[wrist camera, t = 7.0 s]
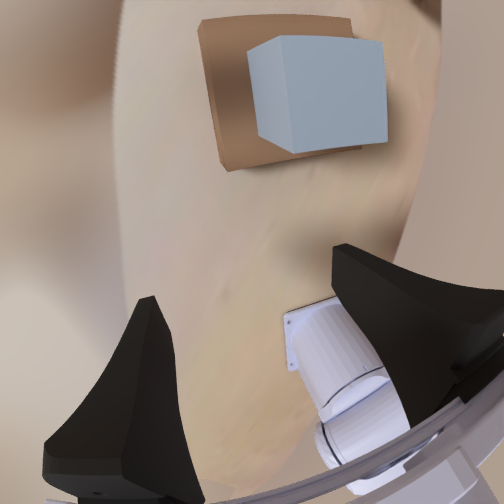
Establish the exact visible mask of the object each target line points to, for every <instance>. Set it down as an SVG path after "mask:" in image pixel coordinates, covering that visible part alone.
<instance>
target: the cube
mask: <svg viewBox="0 0 504 504" xmlns="http://www.w3.org/2000/svg"><path fill="white" fill-rule="evenodd" d="M247 57H248V63H249V70H250V77H251V84H252V91H253V98H254V106H255V113H256V120H257V128H258V135H259V136H260V137H262V138H264V139H266V140H268V141H270V142H272V143H274V144H276V145H278V146H280V147H282V148H283V149H285V150H287V151H289V152H291V153H293V154H295V153H302V152H308V151H315V150H322V149H329V148H337V147H345V146H354V145H363V144H373V143H384V142H388V121H387V93H386V77H385V65H384V54H383V45H382V42H378V41H371V40H364V39H355V38H344V37H331V36H308V35H280V36H277V37H275V38H273V39H271V40H269V41H267V42H265V43H263V44H261V45H259V46H257V47H255V48H253V49H251V50H249V51H247Z"/></svg>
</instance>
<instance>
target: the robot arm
mask: <svg viewBox="0 0 504 504" xmlns="http://www.w3.org/2000/svg"><path fill="white" fill-rule="evenodd" d="M331 286H332V288H333V290H334V292H335V293H336V295H337V296H336V297H333V298H330V299H328V300H325V301H322V302H319V303H316V304H313V305H310V306H307V307H303V308H300V309H297V310H294V311H291V312H288V313H286V314H285V315H284V316H283V320H284V332H285V343H286V355H287V368H288V370H289V371H295V370H298V372H299V374H300V376H301V378H302V380H303V382H304V384H305V386H306V388H307V390H308V392H309V394H310V396H311V398H312V400H313V402H314V405H315V406H316V408H317V409H318V410H319V411H318V414H319V416H320V418H321V420H322V421H320V422H319V423H317V425H316V430H315V434H314V437H315V443H316V446H317V448H318V451H319V453H320V455H321V457H322V459H323V460H324V462H325V464H326V465H327V466H328V468H329V469H330V470H329V471H326V472H324V473H321V474H319V475H316V476H313V477H311V478H308V479H305V480H302V481H299V482H296V483H293V484H290V485H287V486H284V487H281V488H277V489H274V490H270V491H267V492H263V493H259V494H255V495H251V496H247V497H242V498H238V499H233V500H228V501H223V502H217V503H212V504H298V503H301V502H304V501H307V500H310V499H313V498H315V497H318V496H320V495H323V494H326V493H329V492H331V491H333V490H336V489H338V488H340V487H343V486H345V485H346V486H347V488H348V489H349V490H351V491H352V492H353V494H355V495H363V496H361V497H359V498H357V499H355V500H353V501H350V502H348V503H346V504H499V503H498V501H497V499H496V497H495V496H494V494H493V492H492V490H491V489H490V487H489V485H488V484H487V482H486V480H485V479H484V477H483V476H482V474H481V472H480V471H479V469H478V467H479V466H480V465H481V464H482V463H483V461H485V460H486V459H487V458H488V456H489V455H490V454H491V453H492V452H493V451H494V450H495V449H496V448H497V447H498V446H499V444H500V443H501V442H502V441H503V440H504V336H503V333H504V290H494V289H480V288H473V287H466V286H460V285H455V284H451V283H447V282H442V281H439V280H435V279H432V278H429V277H426V276H423V275H420V274H417V273H414V272H412V271H409V270H407V269H404V268H401V267H399V266H397V265H394V264H392V263H390V262H387V261H385V260H383V259H381V258H379V257H376V256H374V255H372V254H370V253H368V252H365V251H363V250H361V249H359V248H357V247H354V246H352V245H349V244H346V243H345V244H341V245H338V246H334V247H333V256H332V285H331ZM43 453H44V454H43V471H42V476H43V479H44V480H45V481H46V482H47V483H49V484H50V485H52V486H54V487H56V488H58V489H60V490H62V491H64V492H66V493H69V494H71V495H74V496H76V497H78V504H204V502H205V498H204V495H203V492H202V490H201V487H200V485H199V482H198V479H197V476H196V473H195V470H194V467H193V463H192V460H191V457H190V453H189V450H188V446H187V442H186V438H185V434H184V430H183V426H182V421H181V417H180V411H179V404H178V394H177V380H176V366H175V353H174V347H173V342H172V336H171V332H170V329H169V327H168V325H167V323H166V321H165V319H164V317H163V314H162V312H161V310H160V308H159V305H158V303H157V301H156V299H155V296H150V297H146V298H142V299H139V301H138V303H137V305H136V307H135V309H134V311H133V314H132V316H131V318H130V320H129V322H128V325H127V327H126V329H125V331H124V333H123V335H122V337H121V340H120V342H119V344H118V346H117V348H116V350H115V351H114V353H113V355H112V357H111V359H110V361H109V363H108V365H107V366H106V368H105V370H104V371H103V373H102V375H101V376H100V378H99V379H98V381H97V382H96V384H95V385H94V387H93V388H92V390H91V391H90V392H89V394H88V395H87V396H86V398H85V399H84V400H83V402H82V403H81V405H80V406H79V407H78V408H77V409H76V410H75V412H74V413H73V414H72V415H71V416H70V417H69V419H68V420H67V421H66V422H65V423H64V424H63V425H62V426H61V427H60V428H59V429H58V430H57V431H56V432H55V433H54V434H53V435H52V436H51V437H50V438H49V439H48V440H47V441H46V442H45V443H44V452H43ZM45 504H75V503H71V502H64V501H57V500H50V499H46V500H45Z"/></svg>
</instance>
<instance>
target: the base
mask: <svg viewBox="0 0 504 504" xmlns="http://www.w3.org/2000/svg"><path fill="white" fill-rule="evenodd" d="M280 35H308V36H331V37H344V38H353V33H352V27H351V20H350V19H349V18H340V17H330V16H317V15H295V14H268V15H246V16H233V17H223V18H214V19H206V20H202V21H201V23H200V26H199V28H198V36H199V43H200V49H201V55H202V61H203V67H204V72H205V78H206V84H207V90H208V96H209V102H210V107H211V113H212V119H213V124H214V130H215V135H216V141H217V147H218V152H219V158H220V162H221V164H222V165H223V166H224V168H225V169H226V170H227V172H230V171H235V170H240V169H244V168H249V167H254V166H259V165H264V164H269V163H274V162H279V161H285V160H290V159H296V158H302V157H308V156H314V155H321V154H327V153H334V152H341V151H348V150H356V149H362V145H354V146H345V147H337V148H329V149H322V150H315V151H308V152H302V153H295V154H293V153H291V152H289V151H287V150H285V149H283V148H282V147H280V146H278V145H276V144H274V143H272V142H270V141H268V140H266V139H264V138H262V137H260V136H259V135H258V128H257V120H256V113H255V106H254V98H253V91H252V84H251V77H250V70H249V63H248V57H247V51H249V50H251V49H253V48H255V47H257V46H259V45H261V44H263V43H265V42H267V41H269V40H271V39H273V38H275V37H277V36H280Z"/></svg>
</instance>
